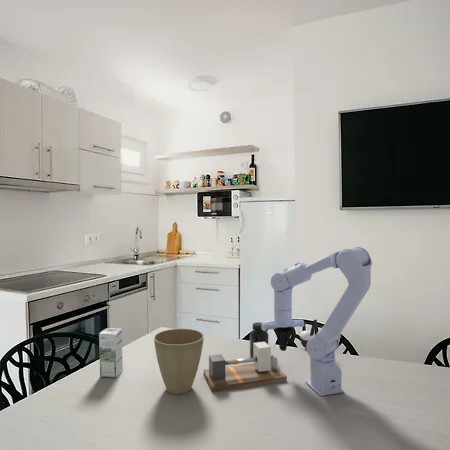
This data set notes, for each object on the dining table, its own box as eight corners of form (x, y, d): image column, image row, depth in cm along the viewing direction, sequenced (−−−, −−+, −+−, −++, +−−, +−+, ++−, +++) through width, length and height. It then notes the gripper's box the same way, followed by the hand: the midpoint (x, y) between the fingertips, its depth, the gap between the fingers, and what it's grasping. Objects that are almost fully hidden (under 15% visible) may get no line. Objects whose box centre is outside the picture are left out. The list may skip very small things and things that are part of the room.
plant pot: (196, 403, 99) (196, 346, 99) (146, 398, 102) (145, 342, 102) (209, 379, 114) (209, 329, 113) (165, 375, 117) (164, 326, 116)
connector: (225, 379, 110) (225, 360, 110) (212, 381, 109) (212, 361, 109) (221, 372, 115) (221, 354, 115) (209, 374, 114) (208, 355, 114)
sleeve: (270, 370, 114) (270, 346, 114) (258, 371, 113) (258, 348, 113) (264, 364, 119) (264, 341, 119) (253, 365, 118) (253, 342, 118)
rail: (277, 370, 117) (277, 355, 116) (217, 378, 111) (217, 363, 111) (274, 367, 118) (274, 353, 118) (216, 375, 113) (216, 360, 113)
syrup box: (123, 370, 120) (122, 327, 120) (116, 378, 114) (115, 333, 114) (107, 369, 121) (106, 327, 120) (99, 377, 115) (98, 333, 115)
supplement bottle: (269, 360, 128) (269, 327, 128) (250, 360, 129) (250, 327, 128) (267, 352, 135) (267, 321, 135) (249, 352, 135) (249, 321, 135)
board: (286, 381, 112) (286, 376, 112) (212, 391, 105) (212, 386, 105) (271, 365, 124) (271, 361, 124) (203, 374, 117) (203, 369, 117)
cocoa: (299, 344, 145) (297, 314, 146) (314, 343, 145) (313, 314, 145) (303, 351, 136) (301, 320, 136) (319, 351, 136) (318, 319, 136)
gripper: (297, 304, 124) (297, 343, 124) (257, 307, 120) (257, 347, 120) (307, 309, 117) (307, 350, 117) (266, 313, 113) (266, 355, 113)
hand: (282, 349), depth 118 cm, fingers closed
